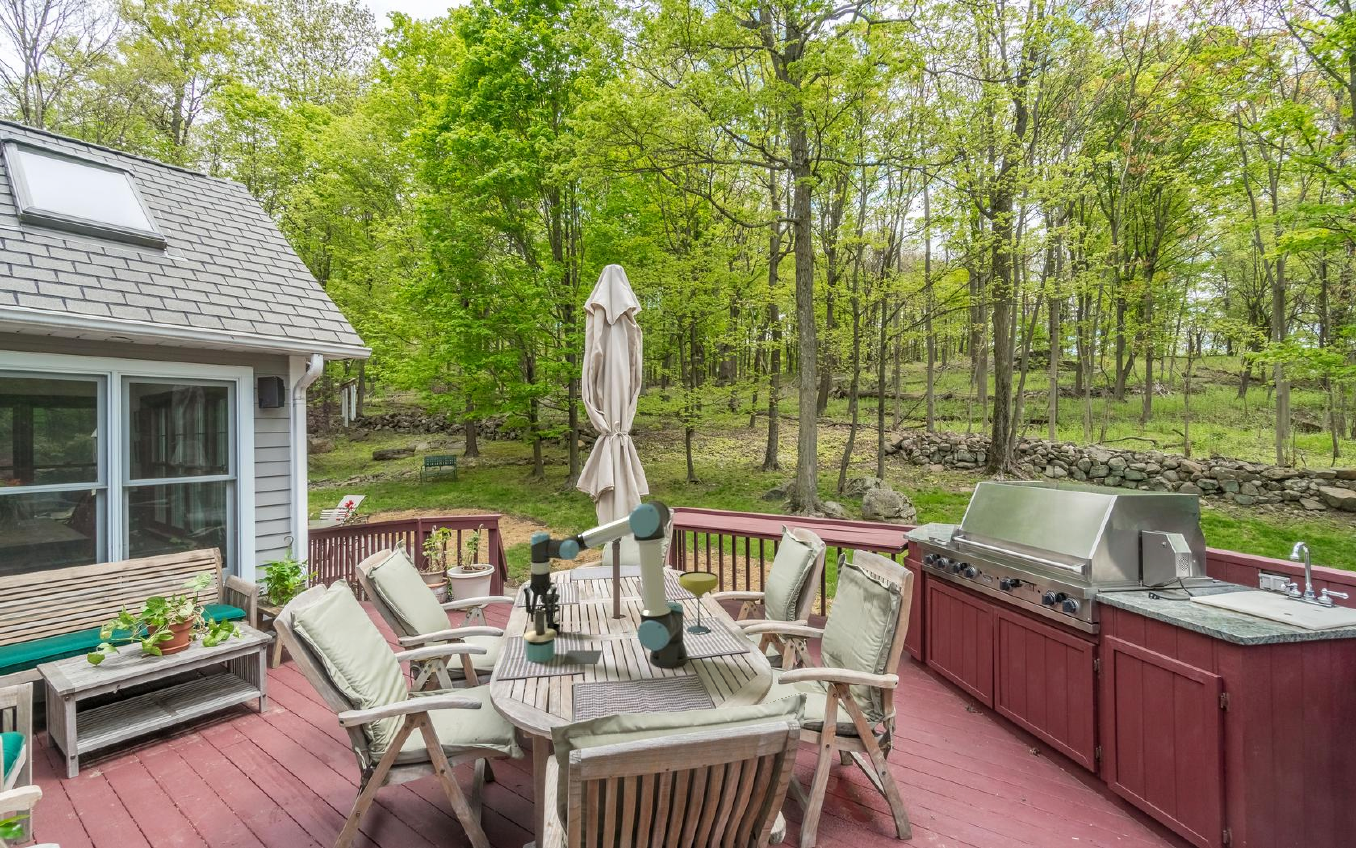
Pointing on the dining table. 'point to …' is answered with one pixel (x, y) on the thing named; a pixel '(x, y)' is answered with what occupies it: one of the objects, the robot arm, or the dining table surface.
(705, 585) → the cocktail glass
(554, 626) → the french press
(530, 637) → the lid
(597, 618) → the dining table surface
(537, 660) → the bowl
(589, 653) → the mat
